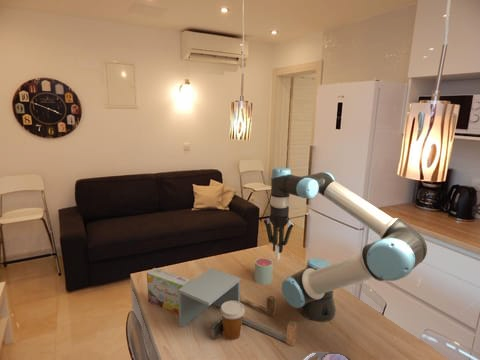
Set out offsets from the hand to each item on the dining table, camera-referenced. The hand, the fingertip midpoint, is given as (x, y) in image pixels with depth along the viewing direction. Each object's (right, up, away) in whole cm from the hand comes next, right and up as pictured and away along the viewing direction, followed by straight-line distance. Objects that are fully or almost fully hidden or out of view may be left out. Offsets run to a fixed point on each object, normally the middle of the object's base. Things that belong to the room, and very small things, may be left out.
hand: (277, 258), depth 132 cm
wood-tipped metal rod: (-11, -27, -14) cm, 33 cm away
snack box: (-47, -23, +5) cm, 52 cm away
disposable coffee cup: (-19, -27, -11) cm, 35 cm away
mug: (-3, -18, +31) cm, 36 cm away
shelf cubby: (-28, -25, -3) cm, 38 cm away
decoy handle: (-10, -23, +6) cm, 26 cm away
